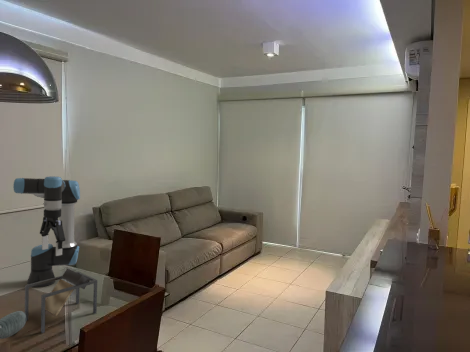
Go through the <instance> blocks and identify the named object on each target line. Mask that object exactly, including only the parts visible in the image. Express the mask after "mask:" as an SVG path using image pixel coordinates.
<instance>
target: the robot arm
mask: <svg viewBox="0 0 470 352" xmlns="http://www.w3.org/2000/svg"><path fill="white" fill-rule="evenodd" d="M12 186H13V192H14V193H15V194H21V195H22V194H25V195H26V194H27V195H28V194H29V195H34V196H35V197H37V198H40V199H42V198H43V216H42V217H43V218H42V223H41V226H40V230H39V234H40V235H41V236H42V237H41V244H38V245H37V246H34V247H33V248H32V249H31V250H30V272H29V276H28V277H27V284H26V285H28V284H32V283H35V282H39V281H43V280H47V279H51V278H55V277H56V276H55V274H54V273H55V272H54V271H53V267H56V266H57V267H58V266H61V267H62V266H75V265H76V264H77V261H78V257H79V251H80V246H79V245H77V244H78V243H77V241H75V212H76V211H75V208H76V207H75V205H76V204H77V203H78V200H80V199H81V190H80V184H79V182H78V181H77V180H71V179H62V177H61V176H53V175H52V176H45V177H44V178H34V177H33V178H27V177H26V178H25V177H17V178H15V179H14V181H13V185H12ZM51 230H52V231H53V234H54V237H55V239H56V241H55V246H54V245H53V244H52V243H49V236H50V234H49V232H50V231H51ZM55 283H56V281H52V282H48V283H44V284H40V285H37V286H33V287H32V288H43V287H47V286H48V287H49V286H50V285H53V284H55Z"/></svg>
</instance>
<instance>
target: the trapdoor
mask: <svg viewBox="0 0 470 352" xmlns="http://www.w3.org/2000/svg"><path fill="white" fill-rule="evenodd" d="M76 272H77V271H75V270H72V269H69V268H66V269H65V271H64V273H63V274H62V275H61V276H62V277H61V278H63V279H60V280H57V283H56V285H54V287H53V289H52V290H51V292H54V291H58V290H61V289H65V288H68V287H72V286H75V285H79V284H82V283H86V282H89V281H90V279H88V278H86V277H84V276H82V275H80V274H78V273H76ZM65 280H66V281H65ZM80 288H81V289H83V290H85V289H86V288H87V286H83V287H80ZM80 288H79V289H80ZM74 290H75V289H73V290H70V291H66V292H63V293H59V294H56V295H53V296H49V297H46V298H45V311H48V313H51V314H52V315H53V316H54V317H58V315H59V313H60V312H61V310H62V309H63V307H64V306H65V304H66V303H67V301H68V300H69V298H70V296H71V295H72V294H73V291H74Z"/></svg>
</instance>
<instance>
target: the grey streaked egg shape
mask: <svg viewBox="0 0 470 352" xmlns="http://www.w3.org/2000/svg"><path fill="white" fill-rule="evenodd" d="M26 322H27V321H26V314H25V311H22V310H17V311H14V312H11V313H8V314H7V315H4V316H2V317H1V318H0V340H2V339H8V338H9V337H12V336H14V335H15V334H16V333H18V332H19V331H21V330H22V329H23V328H24V326H25V325H26Z"/></svg>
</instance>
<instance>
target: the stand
mask: <svg viewBox="0 0 470 352" xmlns="http://www.w3.org/2000/svg"><path fill="white" fill-rule="evenodd" d="M75 272H76V273H78V274H80V275H82V276H84V277H86V278H88V279H90V281H89V282H86V283H82V284H79V285H73V286H72V287H68V288H65V289H61V290H58V291H54V292H52V291H50V292H46V293H43V294H41V300H40V301H41V304H40V305H41V306H40V308H41V309H40V311H41V313H40V318H41V319H40V333H41V334H43V333H44V334H45V332H46V309H45V300H46V299H47V297H49V296H53V295H56V294H59V293H63V292H66V291H70V290H73V289H74V290H75V304H76V305H78V304H80V287H83V286H86V287H87V286H90V285H93V301H92V303H93V304H92V313H93V314H94V315H95V314H97V307H98V305H97V304H98V279H97V278H93V277H91V276H90V275H87V274H85V273H83V272H80V271H75ZM62 276H63V275H60V276H57V277H56V276H55V278H51V279H47V280H43V281H39V282H35V283H32V284H28V285H27V284H25V286H24V313H25V314H26V322H27V321H29V308H30V307H29V303H30V302H29V299H30V297H29V295H30V293H29V292H30V291H29V289H30V288H34V287H33V286H37V285H40V284H44V283H48V282H52V281H55V282H56V281H59V280H60V279H62V280H64V279H63V278H61V277H62ZM74 290H73V291H74Z"/></svg>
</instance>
